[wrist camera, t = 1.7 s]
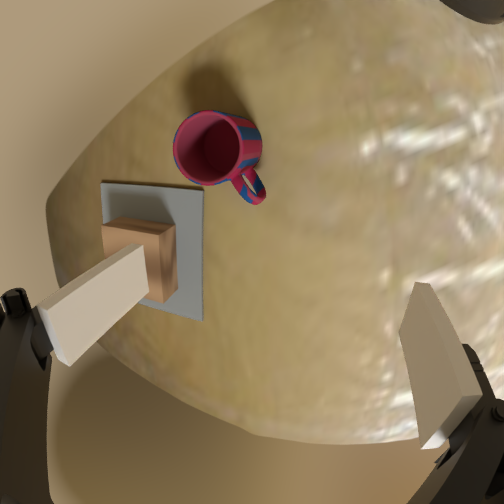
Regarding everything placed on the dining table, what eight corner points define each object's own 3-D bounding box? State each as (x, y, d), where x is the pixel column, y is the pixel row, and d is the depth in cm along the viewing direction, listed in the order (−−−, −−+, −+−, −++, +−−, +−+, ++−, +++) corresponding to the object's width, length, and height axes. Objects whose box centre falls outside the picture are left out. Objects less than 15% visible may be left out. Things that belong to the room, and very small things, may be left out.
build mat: (102, 182, 35) (100, 183, 35) (204, 190, 32) (202, 191, 32) (114, 293, 42) (113, 295, 42) (203, 319, 39) (202, 321, 39)
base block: (120, 216, 36) (101, 225, 32) (175, 224, 34) (158, 235, 30) (126, 275, 40) (109, 287, 36) (178, 288, 38) (163, 303, 34)
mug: (240, 103, 27) (216, 95, 21) (291, 182, 29) (280, 193, 23) (192, 138, 30) (160, 140, 24) (239, 212, 32) (217, 230, 26)
